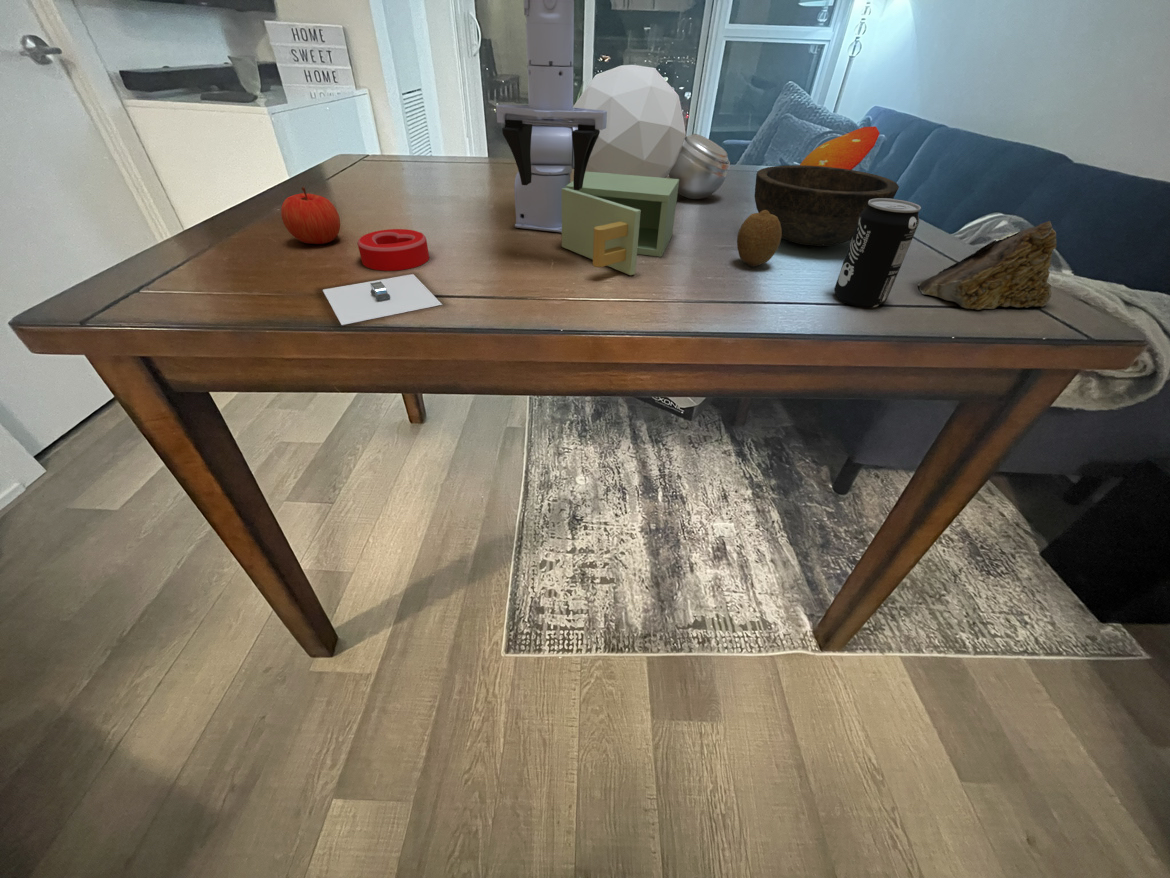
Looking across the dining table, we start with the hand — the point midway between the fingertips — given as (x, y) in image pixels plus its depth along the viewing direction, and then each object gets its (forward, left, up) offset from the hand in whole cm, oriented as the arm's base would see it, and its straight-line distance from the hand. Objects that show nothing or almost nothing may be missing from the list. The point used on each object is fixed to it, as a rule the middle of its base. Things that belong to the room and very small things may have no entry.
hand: (552, 186), depth 70 cm
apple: (-38, -5, -11) cm, 40 cm away
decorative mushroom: (+42, +50, -11) cm, 66 cm away
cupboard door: (+5, 0, -10) cm, 11 cm away
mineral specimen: (+61, +7, -11) cm, 62 cm away
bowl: (+39, +24, -11) cm, 47 cm away
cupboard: (+8, +13, -10) cm, 18 cm away
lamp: (+6, +46, -11) cm, 48 cm away
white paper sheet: (-16, -21, -11) cm, 28 cm away
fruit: (+30, +8, -11) cm, 33 cm away
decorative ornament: (-22, -8, -11) cm, 26 cm away
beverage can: (+44, -1, -11) cm, 45 cm away
